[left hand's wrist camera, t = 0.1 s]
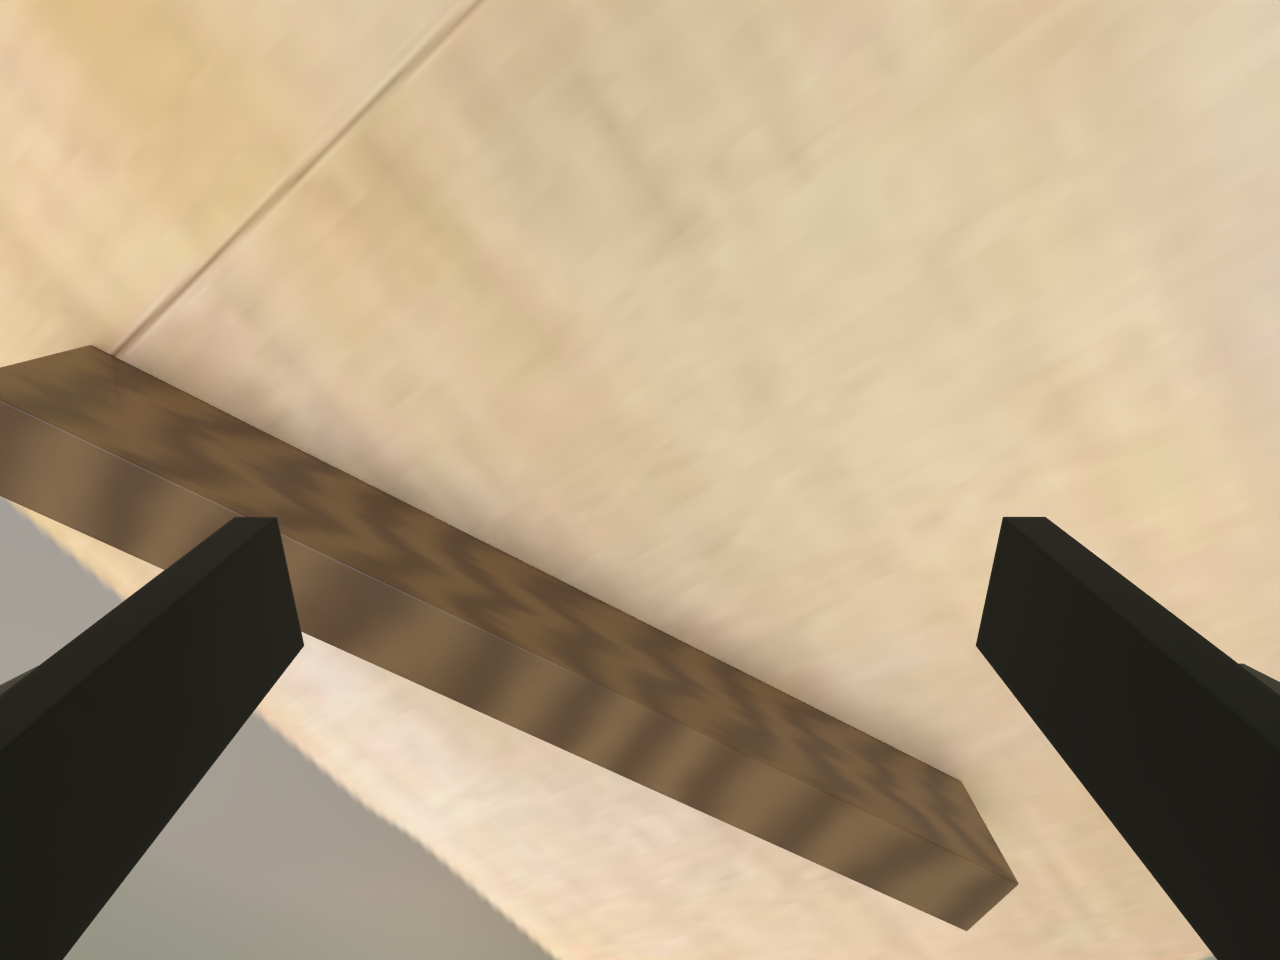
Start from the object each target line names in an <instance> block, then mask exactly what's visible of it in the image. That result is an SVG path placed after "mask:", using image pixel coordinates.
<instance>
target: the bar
mask: <svg viewBox="0 0 1280 960" xmlns="http://www.w3.org/2000/svg"><path fill="white" fill-rule="evenodd" d="M0 496H2V497H4V498H6V499H8V500H11V501H13V502H15V503H17V504H20V505H22V506H24V507H26V508H28V509H31V510H33V511H35V512H37V513H40V514H42V515H44V516H46V517H48V518H51V519H53V520H55V521H57V522H59V523H62V524H64V525H66V526H68V527H71V528H73V529H75V530H77V531H79V532H82V533H84V534H86V535H88V536H91V537H93V538H95V539H97V540H99V541H102V542H104V543H106V544H108V545H111V546H113V547H115V548H117V549H119V550H122V551H124V552H126V553H128V554H131V555H133V556H135V557H137V558H139V559H142V560H144V561H146V562H148V563H151V564H153V565H155V566H157V567H159V568H162V569H164V570H166V569H167V568H168V567H170V566H171V565H172V564H173V563H175V562H176V561H177V560H179V559H180V558H181V557H183V556H184V555H185V554H187V553H188V552H189V551H191V550H192V549H193V548H195V547H196V546H197V545H198V544H200V543H201V542H202V541H204V540H205V539H206V538H208V537H209V536H210V535H212V534H213V533H214V532H216V531H217V530H218V529H220V528H221V527H222V526H223V525H225V524H226V523H227V522H229V521H230V520H231V519H233V518H234V517H277V520H278V524H279V529H280V534H281V539H282V543H283V548H284V553H285V557H286V562H287V567H288V572H289V576H290V581H291V586H292V591H293V595H294V600H295V605H296V609H297V614H298V619H299V624H300V628H301V631H302V632H304V633H306V634H308V635H310V636H313V637H315V638H317V639H319V640H322V641H324V642H326V643H328V644H330V645H333V646H335V647H337V648H339V649H342V650H344V651H346V652H348V653H350V654H353V655H355V656H357V657H359V658H361V659H364V660H366V661H368V662H370V663H373V664H375V665H377V666H379V667H381V668H384V669H386V670H388V671H390V672H393V673H395V674H397V675H399V676H401V677H404V678H406V679H408V680H410V681H413V682H415V683H417V684H419V685H421V686H424V687H426V688H428V689H430V690H433V691H435V692H437V693H439V694H441V695H444V696H446V697H448V698H450V699H453V700H455V701H457V702H459V703H461V704H464V705H466V706H468V707H470V708H473V709H475V710H477V711H479V712H481V713H484V714H486V715H488V716H490V717H492V718H495V719H497V720H499V721H501V722H504V723H506V724H508V725H510V726H512V727H515V728H517V729H519V730H521V731H524V732H526V733H528V734H530V735H532V736H535V737H537V738H539V739H541V740H544V741H546V742H548V743H550V744H552V745H555V746H557V747H559V748H561V749H564V750H566V751H568V752H570V753H572V754H575V755H577V756H579V757H581V758H584V759H586V760H588V761H590V762H592V763H595V764H597V765H599V766H601V767H604V768H606V769H608V770H610V771H612V772H615V773H617V774H619V775H621V776H624V777H626V778H628V779H630V780H632V781H635V782H637V783H639V784H641V785H643V786H646V787H648V788H650V789H652V790H655V791H657V792H659V793H661V794H663V795H666V796H668V797H670V798H672V799H675V800H677V801H679V802H681V803H683V804H686V805H688V806H690V807H692V808H695V809H697V810H699V811H701V812H703V813H706V814H708V815H710V816H712V817H715V818H717V819H719V820H721V821H723V822H726V823H728V824H730V825H732V826H735V827H737V828H739V829H741V830H743V831H746V832H748V833H750V834H752V835H755V836H757V837H759V838H761V839H763V840H766V841H768V842H770V843H772V844H774V845H777V846H779V847H781V848H783V849H786V850H788V851H790V852H792V853H794V854H797V855H799V856H801V857H803V858H806V859H808V860H810V861H812V862H814V863H817V864H819V865H821V866H823V867H826V868H828V869H830V870H832V871H834V872H837V873H839V874H841V875H843V876H846V877H848V878H850V879H852V880H854V881H857V882H859V883H861V884H863V885H866V886H868V887H870V888H872V889H874V890H877V891H879V892H881V893H883V894H886V895H888V896H890V897H892V898H894V899H897V900H899V901H901V902H903V903H906V904H908V905H910V906H912V907H914V908H917V909H919V910H921V911H923V912H925V913H928V914H930V915H932V916H934V917H937V918H939V919H941V920H943V921H945V922H948V923H950V924H952V925H954V926H957V927H959V928H961V929H963V930H965V931H968V930H969V929H970V928H971V927H972V926H973V925H974V924H975V923H976V922H977V921H979V920H980V919H981V918H982V917H983V916H984V915H985V914H986V913H987V912H988V911H990V910H991V909H992V908H993V907H994V906H995V905H996V904H997V903H998V902H999V901H1001V900H1002V899H1003V898H1004V897H1005V896H1006V895H1007V894H1008V893H1009V892H1010V891H1012V890H1013V889H1014V888H1015V887H1016V886H1017V885H1018V882H1017V880H1016V878H1015V877H1014V875H1013V873H1012V871H1011V869H1010V868H1009V866H1008V864H1007V862H1006V860H1005V859H1004V857H1003V855H1002V853H1001V852H1000V850H999V848H998V846H997V844H996V843H995V841H994V839H993V837H992V835H991V834H990V832H989V830H988V828H987V827H986V825H985V823H984V821H983V819H982V818H981V816H980V814H979V812H978V810H977V809H976V807H975V805H974V803H973V802H972V800H971V798H970V796H969V794H968V793H967V791H966V789H965V787H964V786H963V784H962V782H961V781H959V780H957V779H955V778H953V777H951V776H949V775H947V774H945V773H943V772H941V771H939V770H937V769H935V768H933V767H931V766H929V765H927V764H925V763H923V762H921V761H919V760H917V759H915V758H913V757H911V756H909V755H907V754H905V753H903V752H901V751H899V750H897V749H895V748H893V747H891V746H889V745H887V744H885V743H883V742H881V741H879V740H877V739H875V738H873V737H871V736H869V735H867V734H865V733H863V732H861V731H859V730H857V729H855V728H853V727H851V726H849V725H847V724H845V723H843V722H841V721H839V720H837V719H835V718H833V717H831V716H829V715H827V714H825V713H823V712H821V711H819V710H817V709H815V708H813V707H811V706H809V705H807V704H805V703H803V702H801V701H799V700H797V699H795V698H793V697H791V696H789V695H787V694H785V693H783V692H781V691H779V690H777V689H775V688H773V687H771V686H769V685H767V684H765V683H763V682H761V681H759V680H757V679H755V678H753V677H751V676H749V675H747V674H745V673H743V672H741V671H739V670H737V669H735V668H733V667H731V666H729V665H727V664H725V663H723V662H721V661H719V660H717V659H715V658H713V657H711V656H709V655H707V654H705V653H703V652H701V651H699V650H697V649H695V648H693V647H691V646H689V645H687V644H685V643H683V642H681V641H679V640H677V639H675V638H673V637H671V636H669V635H667V634H665V633H663V632H661V631H659V630H657V629H655V628H653V627H651V626H649V625H647V624H645V623H643V622H641V621H639V620H637V619H635V618H633V617H631V616H629V615H627V614H625V613H623V612H621V611H619V610H617V609H615V608H613V607H611V606H609V605H607V604H605V603H603V602H601V601H599V600H597V599H595V598H593V597H591V596H589V595H587V594H585V593H583V592H581V591H579V590H577V589H575V588H573V587H571V586H569V585H567V584H565V583H563V582H561V581H559V580H557V579H555V578H553V577H551V576H549V575H547V574H545V573H543V572H541V571H540V570H538V569H536V568H534V567H532V566H530V565H528V564H526V563H524V562H522V561H520V560H518V559H516V558H514V557H512V556H510V555H508V554H506V553H504V552H502V551H500V550H498V549H496V548H494V547H492V546H490V545H488V544H486V543H484V542H482V541H480V540H478V539H476V538H474V537H472V536H470V535H468V534H466V533H464V532H462V531H460V530H458V529H456V528H454V527H452V526H450V525H448V524H446V523H444V522H442V521H440V520H438V519H436V518H434V517H432V516H430V515H428V514H426V513H424V512H422V511H420V510H418V509H416V508H414V507H412V506H410V505H408V504H406V503H404V502H402V501H400V500H398V499H396V498H394V497H392V496H390V495H388V494H386V493H384V492H382V491H380V490H378V489H376V488H374V487H372V486H370V485H368V484H366V483H364V482H362V481H360V480H358V479H356V478H354V477H352V476H350V475H348V474H346V473H344V472H342V471H340V470H338V469H336V468H334V467H332V466H330V465H328V464H326V463H324V462H322V461H320V460H318V459H316V458H314V457H312V456H310V455H308V454H306V453H304V452H302V451H300V450H298V449H296V448H294V447H292V446H290V445H288V444H286V443H284V442H282V441H280V440H278V439H276V438H274V437H272V436H270V435H268V434H266V433H264V432H262V431H260V430H258V429H256V428H254V427H252V426H250V425H248V424H246V423H244V422H242V421H240V420H238V419H236V418H234V417H232V416H230V415H228V414H226V413H224V412H222V411H220V410H218V409H216V408H214V407H212V406H210V405H208V404H206V403H204V402H202V401H200V400H198V399H196V398H194V397H192V396H190V395H188V394H186V393H184V392H182V391H180V390H178V389H176V388H174V387H172V386H170V385H168V384H166V383H164V382H162V381H160V380H158V379H156V378H154V377H152V376H150V375H148V374H146V373H144V372H142V371H140V370H138V369H136V368H134V367H132V366H130V365H128V364H126V363H124V362H122V361H120V360H118V359H116V358H114V357H112V356H110V355H108V354H106V353H104V352H102V351H100V350H98V349H96V348H94V347H92V346H85V347H81V348H77V349H73V350H69V351H65V352H61V353H57V354H53V355H49V356H45V357H41V358H37V359H33V360H29V361H25V362H21V363H17V364H13V365H9V366H5V367H1V368H0Z"/></svg>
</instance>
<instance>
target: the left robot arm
mask: <svg viewBox="0 0 1280 960" xmlns="http://www.w3.org/2000/svg"><path fill="white" fill-rule="evenodd" d="M303 646H304V643H303V638H302V633H301V628H300V624H299V619H298V614H297V609H296V605H295V600H294V595H293V591H292V586H291V581H290V576H289V572H288V567H287V562H286V557H285V553H284V548H283V543H282V539H281V534H280V529H279V524H278V520H277V517H234V518H233V519H231V520H230V521H229V522H227V523H226V524H225V525H223V526H222V527H221V528H220V529H218V530H217V531H216V532H214V533H213V534H212V535H210V536H209V537H208V538H206V539H205V540H204V541H202V542H201V543H200V544H198V545H197V546H196V547H195V548H193V549H192V550H191V551H189V552H188V553H187V554H185V555H184V556H183V557H181V558H180V559H179V560H177V561H176V562H175V563H173V564H172V565H171V566H170V567H168V568H167V569H166V570H164V571H163V572H162V573H160V574H159V575H158V576H156V577H155V578H154V579H152V580H151V581H150V582H149V583H147V584H146V585H145V586H143V587H142V588H141V589H139V590H138V591H137V592H135V593H134V594H133V595H131V596H130V597H129V598H127V599H126V600H125V601H124V602H122V603H121V604H120V605H118V606H117V607H116V608H114V609H113V610H112V611H110V612H109V613H108V614H106V615H105V616H104V617H103V618H101V619H100V620H99V621H97V622H96V623H95V624H93V625H92V626H91V627H89V628H88V629H87V630H85V631H84V632H83V633H82V634H80V635H79V636H78V637H76V638H75V639H74V640H72V641H71V642H70V643H68V644H67V645H66V646H64V647H63V648H62V649H60V650H59V651H58V652H57V653H55V654H54V655H53V656H51V657H50V658H49V659H47V660H46V661H45V662H43V663H42V664H41V665H39V666H37V667H35V668H33V669H31V670H29V671H27V672H25V673H23V674H21V675H19V676H17V677H15V678H13V679H12V680H10V681H8V682H6V683H4V684H2V685H0V960H63V959H64V957H65V956H66V955H67V953H68V952H69V951H70V949H71V948H72V947H73V946H74V944H75V943H76V942H77V940H78V939H79V938H80V936H81V935H82V934H83V932H84V931H85V930H86V929H87V927H88V926H89V925H90V923H91V922H92V921H93V919H94V918H95V917H96V916H97V914H98V913H99V912H100V910H101V909H102V908H103V907H104V905H105V904H106V903H107V901H108V900H109V899H110V897H111V896H112V895H113V894H114V892H115V891H116V890H117V888H118V887H119V886H120V884H121V883H122V882H123V881H124V879H125V878H126V877H127V875H128V874H129V873H130V871H131V870H132V869H133V868H134V866H135V865H136V864H137V862H138V861H139V860H140V858H141V857H142V856H143V854H144V853H145V852H146V851H147V849H148V848H149V847H150V845H151V844H152V843H153V842H154V840H155V839H156V838H157V836H158V835H159V834H160V832H161V831H162V830H163V829H164V827H165V826H166V825H167V823H168V822H169V821H170V819H171V818H172V817H173V815H174V814H175V813H176V812H177V810H178V809H179V808H180V806H181V805H182V804H183V802H184V801H185V800H186V799H187V797H188V796H189V795H190V793H191V792H192V791H193V789H194V788H195V787H196V786H197V784H198V783H199V782H200V780H201V779H202V778H203V776H204V775H205V774H206V772H207V771H208V770H209V769H210V767H211V766H212V765H213V763H214V762H215V761H216V760H217V758H218V757H219V756H220V754H221V753H222V752H223V750H224V749H225V748H226V747H227V745H228V744H229V743H230V741H231V740H232V739H233V737H234V736H235V735H236V734H237V732H238V731H239V730H240V728H241V727H242V726H243V724H244V723H245V722H246V720H247V719H248V718H249V717H250V715H251V714H252V713H253V711H254V710H255V709H256V708H257V706H258V705H259V704H260V702H261V701H262V700H263V698H264V697H265V696H266V695H267V693H268V692H269V691H270V689H271V688H272V687H273V685H274V684H275V683H276V682H277V680H278V679H279V678H280V676H281V675H282V674H283V672H284V671H285V670H286V669H287V667H288V666H289V665H290V663H291V662H292V661H293V659H294V658H295V657H296V655H297V654H298V653H299V652H300V650H301V649H302V648H303ZM976 646H977V648H978V649H979V650H980V652H981V653H982V654H983V655H984V657H985V658H986V659H987V661H988V662H989V663H990V665H991V666H992V667H993V669H994V670H995V671H996V672H997V674H998V675H999V676H1000V678H1001V679H1002V680H1003V682H1004V683H1005V684H1006V685H1007V687H1008V688H1009V689H1010V691H1011V692H1012V693H1013V695H1014V696H1015V697H1016V698H1017V700H1018V701H1019V702H1020V704H1021V705H1022V706H1023V708H1024V709H1025V710H1026V711H1027V713H1028V714H1029V715H1030V717H1031V718H1032V719H1033V721H1034V722H1035V723H1036V724H1037V726H1038V727H1039V728H1040V730H1041V731H1042V732H1043V734H1044V735H1045V736H1046V737H1047V739H1048V740H1049V741H1050V743H1051V744H1052V745H1053V747H1054V748H1055V749H1056V750H1057V752H1058V753H1059V754H1060V756H1061V757H1062V758H1063V760H1064V761H1065V762H1066V763H1067V765H1068V766H1069V767H1070V769H1071V770H1072V771H1073V773H1074V774H1075V775H1076V776H1077V778H1078V779H1079V780H1080V782H1081V783H1082V784H1083V786H1084V787H1085V788H1086V789H1087V791H1088V792H1089V793H1090V795H1091V796H1092V797H1093V799H1094V800H1095V801H1096V802H1097V804H1098V805H1099V806H1100V808H1101V809H1102V810H1103V812H1104V813H1105V814H1106V816H1107V817H1108V818H1109V819H1110V821H1111V822H1112V823H1113V825H1114V826H1115V827H1116V829H1117V830H1118V831H1119V832H1120V834H1121V835H1122V836H1123V838H1124V839H1125V840H1126V842H1127V843H1128V844H1129V845H1130V847H1131V848H1132V849H1133V851H1134V852H1135V853H1136V855H1137V856H1138V857H1139V858H1140V860H1141V861H1142V862H1143V864H1144V865H1145V866H1146V868H1147V869H1148V870H1149V871H1150V873H1151V874H1152V875H1153V877H1154V878H1155V879H1156V881H1157V882H1158V883H1159V884H1160V886H1161V887H1162V888H1163V890H1164V891H1165V892H1166V894H1167V895H1168V896H1169V897H1170V899H1171V900H1172V901H1173V903H1174V904H1175V905H1176V907H1177V908H1178V909H1179V910H1180V912H1181V913H1182V914H1183V916H1184V917H1185V918H1186V920H1187V921H1188V922H1189V923H1190V925H1191V926H1192V927H1193V929H1194V930H1195V931H1196V933H1197V934H1198V935H1199V936H1200V938H1201V939H1202V940H1203V942H1204V943H1205V944H1206V946H1207V947H1208V948H1209V949H1210V951H1211V952H1212V953H1213V955H1214V956H1215V957H1216V959H1217V960H1280V682H1278V681H1276V680H1274V679H1273V678H1271V677H1269V676H1267V675H1265V674H1263V673H1261V672H1259V671H1257V670H1255V669H1253V668H1251V667H1249V666H1247V665H1245V664H1238V663H1237V662H1235V661H1234V660H1233V659H1231V658H1230V657H1229V656H1227V655H1226V654H1225V653H1224V652H1222V651H1221V650H1220V649H1218V648H1217V647H1216V646H1214V645H1213V644H1212V643H1210V642H1209V641H1208V640H1206V639H1205V638H1204V637H1202V636H1201V635H1200V634H1199V633H1197V632H1196V631H1195V630H1193V629H1192V628H1191V627H1189V626H1188V625H1187V624H1185V623H1184V622H1183V621H1181V620H1180V619H1179V618H1178V617H1176V616H1175V615H1174V614H1172V613H1171V612H1170V611H1168V610H1167V609H1166V608H1164V607H1163V606H1162V605H1160V604H1159V603H1158V602H1156V601H1155V600H1154V599H1153V598H1151V597H1150V596H1149V595H1147V594H1146V593H1145V592H1143V591H1142V590H1141V589H1139V588H1138V587H1137V586H1135V585H1134V584H1133V583H1131V582H1130V581H1129V580H1128V579H1126V578H1125V577H1124V576H1122V575H1121V574H1120V573H1118V572H1117V571H1116V570H1114V569H1113V568H1112V567H1110V566H1109V565H1108V564H1107V563H1105V562H1104V561H1103V560H1101V559H1100V558H1099V557H1097V556H1096V555H1095V554H1093V553H1092V552H1091V551H1089V550H1088V549H1087V548H1085V547H1084V546H1083V545H1082V544H1080V543H1079V542H1078V541H1076V540H1075V539H1074V538H1072V537H1071V536H1070V535H1068V534H1067V533H1066V532H1064V531H1063V530H1062V529H1060V528H1059V527H1058V526H1057V525H1055V524H1054V523H1053V522H1051V521H1050V520H1049V519H1047V518H1046V517H1003V520H1002V524H1001V529H1000V534H999V539H998V543H997V548H996V553H995V557H994V562H993V567H992V572H991V576H990V581H989V586H988V591H987V595H986V600H985V605H984V609H983V614H982V619H981V624H980V628H979V633H978V638H977V643H976Z"/></svg>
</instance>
